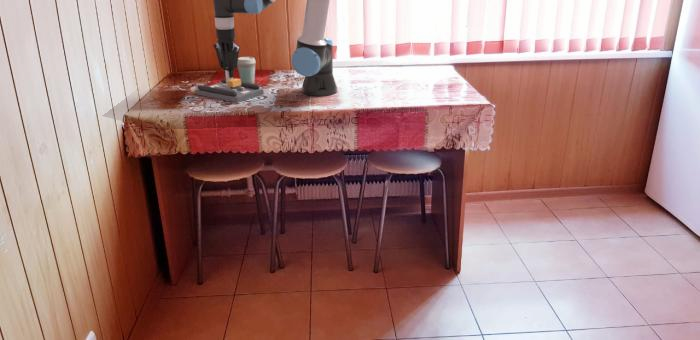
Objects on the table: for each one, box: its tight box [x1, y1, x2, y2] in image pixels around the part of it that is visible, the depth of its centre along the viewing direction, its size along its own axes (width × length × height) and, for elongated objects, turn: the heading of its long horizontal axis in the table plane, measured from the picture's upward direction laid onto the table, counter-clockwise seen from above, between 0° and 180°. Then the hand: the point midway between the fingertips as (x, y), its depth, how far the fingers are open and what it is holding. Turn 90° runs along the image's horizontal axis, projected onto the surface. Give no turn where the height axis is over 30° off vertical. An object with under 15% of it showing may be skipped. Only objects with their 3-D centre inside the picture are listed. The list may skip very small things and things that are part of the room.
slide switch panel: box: [195, 81, 264, 103], centre depth 219 cm, size 24×16×3 cm, turn 59°
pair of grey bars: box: [197, 78, 261, 96], centre depth 218 cm, size 21×16×2 cm
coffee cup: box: [237, 56, 257, 84], centre depth 233 cm, size 8×9×12 cm
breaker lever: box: [227, 77, 241, 90], centre depth 216 cm, size 3×5×4 cm, turn 148°
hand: (230, 85), depth 217 cm, fingers closed
